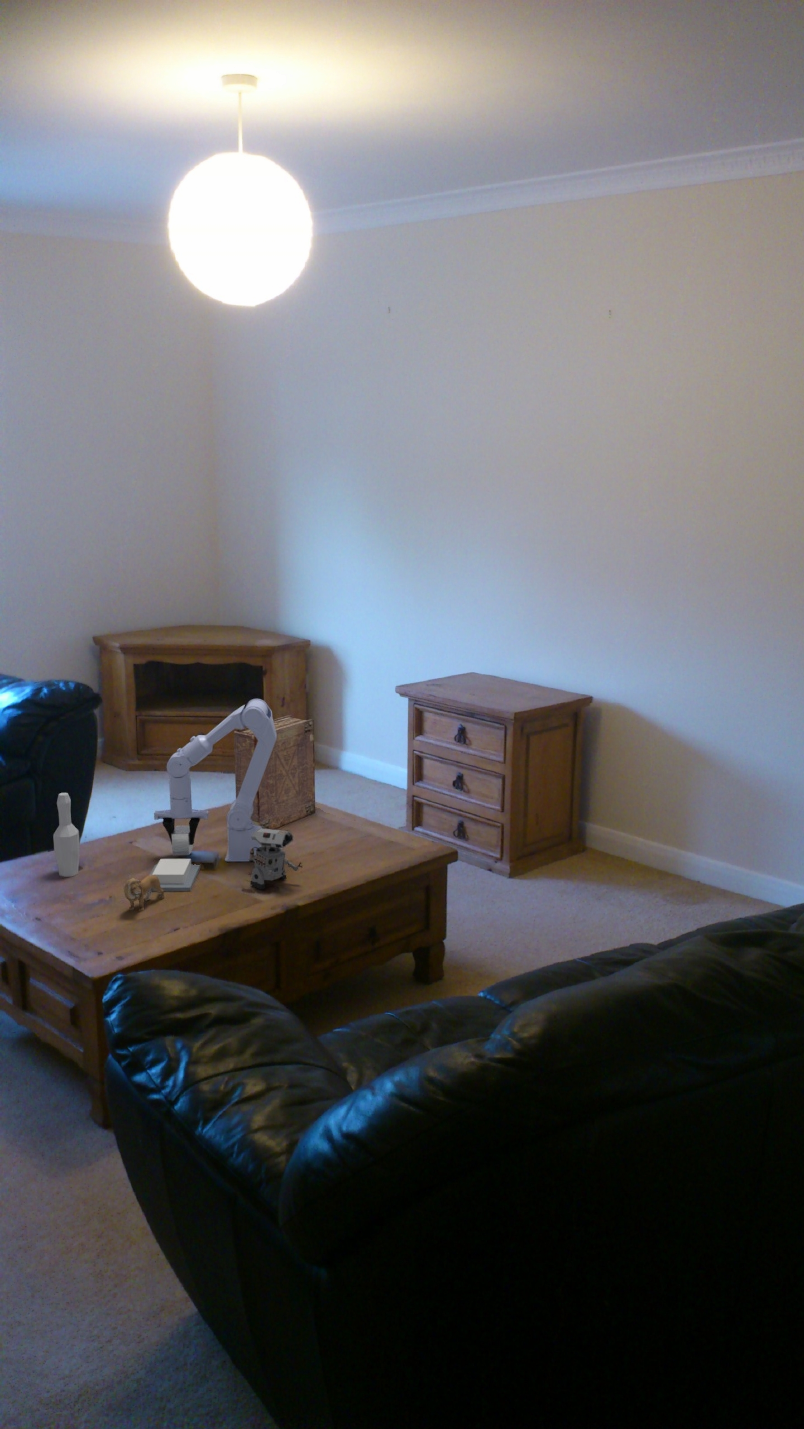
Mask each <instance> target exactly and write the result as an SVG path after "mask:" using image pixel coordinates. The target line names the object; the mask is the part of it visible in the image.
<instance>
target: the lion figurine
mask: <svg viewBox="0 0 804 1429" xmlns="http://www.w3.org/2000/svg"><path fill="white" fill-rule="evenodd" d="M151 888H154V889H155V890H156V891H155V892H157V893H158V894H160V895H159V897H158V898H159V899H160V900H164V898H165V893H164V892H165V891H163V889H162V888H161V886H160V881H159V879H158V877H157V876H156V875H150V874H149V875H146V876H145V877H144V878H143V879H141V880H139V879H137V878H134V877H133V878H128V879H127V880H126V881H125V883H124V884H123V892H124V896H125V898H126V900H128V901H129V904H130V907H128V910H129V911H133V910H134V909H135V902H136V901H138V903H139V904H138V911H139V912H143V911H145V908H144V901H145V902H146V901H149V899H150V897H151V895H152V891H151ZM145 895H146V896H145ZM144 896H145V897H144Z"/></svg>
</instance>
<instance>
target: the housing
mask: <svg viewBox="0 0 804 1429" xmlns="http://www.w3.org/2000/svg"><path fill="white" fill-rule="evenodd" d="M174 828H175V829H174V831H173V833H172V844H171V846H172V847H171V848H172V849H171V850H172V856H190V855H191V852H192V850H193V848H194V844H193V845H190V827H189V825H175V826H174Z"/></svg>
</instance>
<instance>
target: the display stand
mask: <svg viewBox="0 0 804 1429" xmlns="http://www.w3.org/2000/svg"><path fill="white" fill-rule="evenodd" d="M200 869H201V864H200V865H196V864H195V863H194V865H193V863H192V859H191V858H160V860H158V862H157V864H156V863H155V864H154V865H153V868H152V870H151V871H150V873H149V875H156V876H157V877H158V879H159V881H160V886H161V888H162V889H163V891H164V892H191V890H192V888H193V887H194V884H195V881H196V879H197V876H198V874H199V872H200ZM151 892H157V891H156V890H155V889H154V888H151Z"/></svg>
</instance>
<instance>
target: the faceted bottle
mask: <svg viewBox="0 0 804 1429" xmlns="http://www.w3.org/2000/svg"><path fill="white" fill-rule="evenodd" d="M71 802H72V801H71V796H70V795H69V793H68V792H61V793H58V796H57V801H56V805H57V810H58V822H59V823H58V824H59V825H58V827H57V828H56V830H55V832H53V834H52V836H53V850H54V855H55V859H56V865H57V870H58V875H59V876H60V877H65V878H67V877H68V878H69V877H73V876H76V875H78V873H79V862H80V849H81V848H80V846H81V845H80V844H81V843H80V831H79V829H78V828H76V827H75V825H74V824H73V823H72V817H71V816H72V815H71V809H72V808H71V807H72V806H71V805H72V803H71Z"/></svg>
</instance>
